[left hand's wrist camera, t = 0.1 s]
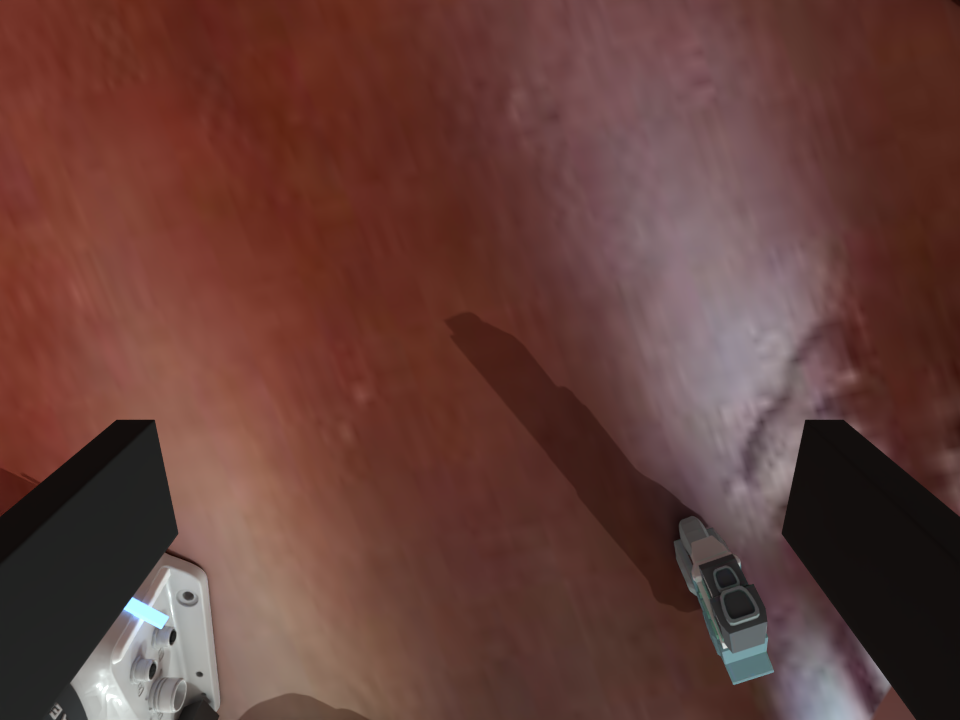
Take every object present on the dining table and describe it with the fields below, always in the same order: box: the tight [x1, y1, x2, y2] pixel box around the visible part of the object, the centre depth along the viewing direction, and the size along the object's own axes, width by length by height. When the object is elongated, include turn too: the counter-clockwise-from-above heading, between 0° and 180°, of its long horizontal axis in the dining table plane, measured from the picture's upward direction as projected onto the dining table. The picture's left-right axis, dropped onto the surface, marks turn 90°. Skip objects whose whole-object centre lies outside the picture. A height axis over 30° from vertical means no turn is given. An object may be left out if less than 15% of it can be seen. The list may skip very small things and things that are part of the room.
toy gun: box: [674, 516, 774, 685], centre depth 42 cm, size 4×19×10 cm
